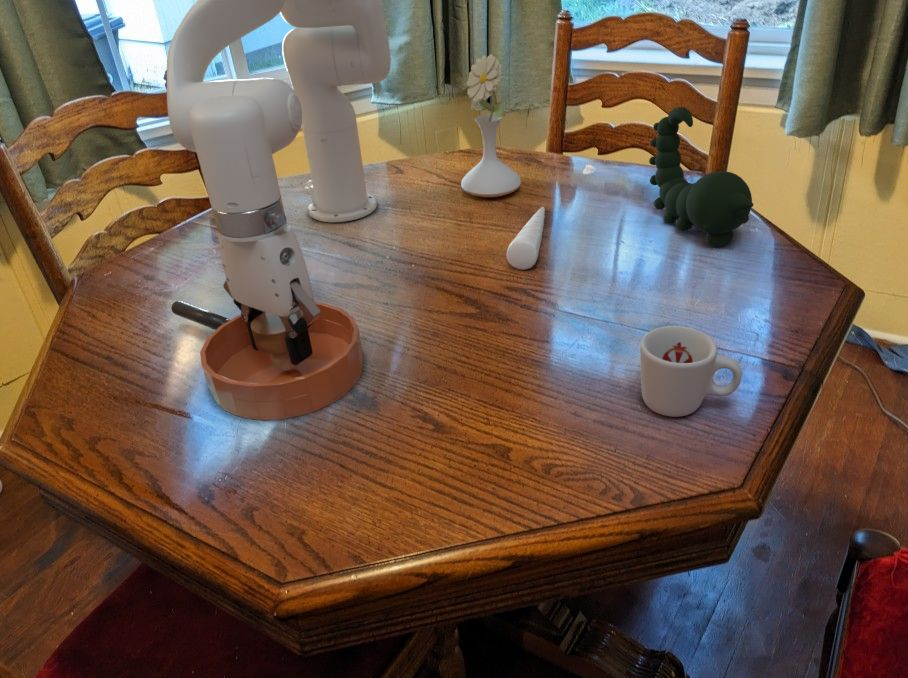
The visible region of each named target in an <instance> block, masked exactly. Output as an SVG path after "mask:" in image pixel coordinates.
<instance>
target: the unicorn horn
mask: <svg viewBox="0 0 908 678" xmlns="http://www.w3.org/2000/svg"><path fill="white" fill-rule="evenodd" d="M545 215H546V209H545V206H541V207H540V208H539V209H538V210H536V212H535V213H534V214H533V215H532V216H531V218H530V219H528V221H527V222H526V223H525V225H524V226H523V227H522V228H521V230H520V231H519V232H518V233H517V235H516V236H515V237H514V238H513V239H512V241H511V242H510V243H509V245H508V247H507V250H506V260H507V261H508V264H509V265H510V266H511V267H513V268H514V269H517V270H523V271H526V270H529V269H532V268H533V267H534V266H535V265H536V263H537V260H538V258H539V255H540V254H539V253H540V247H541V244H542V243H541V242H542V238H543V233H544V226H545V219H546V218H545V217H546V216H545Z"/></svg>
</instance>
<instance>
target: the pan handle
mask: <svg viewBox="0 0 908 678" xmlns="http://www.w3.org/2000/svg"><path fill="white" fill-rule="evenodd" d="M170 308H171V309H170V310H171V313H173V314H174V315H176V316H178V317H180V318H183V319H186V320H187V321H188V320H189V321H191V322H194V323H196V324H199V325H202V326H204V327H207V328H209V329H212V330H214V331H215V330H216V329H217V328H218V327H220V326H221V325H223V324H224V323H226V322H228V321H230V320H231V319H232V318H228V317H226V316H223V315H220V314H217V313H214V312H211V311H209V310H207V309H204V308H201V307H198V306H195V305H193V304H190V303H187V302H184V301H182V300H176V301H174V302H173V303H172V304H171V307H170Z"/></svg>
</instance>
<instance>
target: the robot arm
mask: <svg viewBox="0 0 908 678" xmlns="http://www.w3.org/2000/svg"><path fill="white" fill-rule="evenodd" d="M384 13H385V12H384V7H383V1H382V0H196V1H195V2H194V3H193V5H191V7H190V8H189V10H188V11H187V13H186V14H185V15H184V17H183V18H182V20H181V22H180V23H179V25H178V27H177V29H176V31H175V32H174V35H173V36H172V39H171V41H170V44H169V47H168V51H167V56H166V57H167V58H166V107H167V117H168V121H169V126H170V129H171V132H172V134H173V136H174V138H175V140H176V141H177V143H178V144H179V145H180V146H181V147H183V148H184V149H185V150H187V151H189V152H193V153H196V155H197V160H198V163H199V166H200V171H201V174H202V177H203V181H204V185H205V189H206V193H207V196H208V199H209V204H210V206H211V211H212V214H213V218H214V222H215V225H216V230H217V238H218V246H219V252H220V253H219V254H220V258H221V263H222V264H221V265H222V269H223V272H224V276H225V277H224V278H225V281H224V283H223V284H222V286H223V289H224V290H225V292H226V293H227V294H228V295H229V297H231V299H233V300H232V301H233V303H234V305H235V306H236V307H237V308H238V310H239V311H240V315H241V317H242V319H243V320H244V321H245V322H247V321H248V323H246V325H247V328H248V332H249V336H250V339H251V343H252V347H253V349H254V350H257V351H258V349H257V348H256V345H255V341H254V337H253V334H252V330H251V323H252V321H253V320H254V319H255V318H256V317H257V316H259V315H260V314H262V313H263V312H264V313H265V312H267V313H270V314H273V315H276V316H279V318H280V320H281V322H282V324H283V325H284V327H285V329H286V331H287V333H288V336H287V337H285V340H286V344H287V348H288V352H289V357H290V361H291V364H293V365H298V364H299V363H301V362H302V361H303V360H305V359H306V358H308V357H309V356H311V355H312V352H313V351H312V346H311V342H310V337H309V332H308V329H309V328H310V327H311V325H312V324H313V323H314V321H315V320H316V319H317V318H318V317H319V316H320V314H321V312H320V310H319V308H318V307H317V306H316V305H315V303H314V302H315V301H314V292H313V287H312V283H311V279H310V275H309V271H308V268H307V264H306V261H305V258H304V255H303V252H302V249H301V246H300V243H299V241H298V238H297V236H296V234H295V232H294V229H293V228H292V226H291V225H288V222H287V215H286V213H285V207H284V203H283V199H282V195H281V189H280V184H279V180H278V175H277V171H276V170H277V169H276V165H275V161H274V157H273V155H274V154H276V153H277V152H279V151H281V150H283V149H285V148H287V147H289V145H291V144H292V143H293V142H294V141H295V139H296V138H297V136H298V134H299V132H300V130H301V129H302V135H303V140H304V145H305V150H306V151H305V152H306V156H307V157H306V158H307V162H308V166H309V167H308V168H309V173H310V178H311V179H309V180H307V181H306V183H305V186H303V188H302V191H301V192H302V194H304V195H307V196H310V197H311V201H312V202H311V203H310V204H309V205H308V213H309V216H310V217H311V218H313V219H314V220H315V221H319V222H323V223H345V222H351V221H355V220H358V219H362V218H364V217H367V216H369V215H370V214H371V213H373V212H374V211H375V210H376V209H377V205H378V204H377V199H376V197H375V196H374V195H373V194H370V193H368V191H367V186H366V179H365V178H366V177H365V172H364V165H363V157H362V150H361V142H360V137H359V131H358V130H359V129H358V123H357V122H358V121H357V115H356V111H355V108H354V106H353V104H352V103H351V101H350V100H349V98H348V97H347V96H346V95H345V94H344V93H343V92H342V90H340V89H339V88H338V87H343V86H358V85H369V84H376V83H380V82H382V81H384V80H386V78H387V77H388V75H389V74H390V70H391V64H392V63H391V61H392V60H391V49H390V42H389V37H388V31H387V25H386V18H385V14H384ZM278 15H280V16H281V18H282V20H283V21H284V22H285V23H286V24H288V25H289V26H291V27H294V28H292V29H290V30H289V31H288V32H287V33H286V34H285V36H284V38H283V40H282V45H281V51H282V52H281V53H282V58H283V62H284V65H285V68H286V71H287V74H288V78H289V80H290V83H291V85H290V84H288V83H287V82H285V81H283V80H281V79H279V78H274V77H273V78H271V77H261V78H260V77H259V78H248V79H247V78H244V79H238V78H237V79H236V78H235V79H223V80H222V79H221V80H210V81H208V80H207V81H204V79H205V76H206V73H207V70H208V68H209V66H210V65H211V63H212V62H213V60H214V59H215V58H216V57H217V56H218V55H219V54H220V53H221V52H222V51H224V50H225V49H226V48H228V47H229V46H230V45H232V44H233V43H235V42H237V41H239V40H240V39H242V38H244V37H245V36H247V35H249V34H250V33H253V32H254V31H255V30H257V29H259V28H260V27H263V26H264V25H266V24H267V23H269V22H271V21H272V20H273V19H274V18H275V17H277V16H278ZM291 306H292V307H291ZM294 313H295V314H296V316H297V318H298V320H297V322H296V323H295V324H294V325H293V323H292V321H291V319H290V317H289V316H291V315H292V314H294Z"/></svg>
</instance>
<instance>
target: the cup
mask: <svg viewBox="0 0 908 678" xmlns="http://www.w3.org/2000/svg"><path fill="white" fill-rule="evenodd" d="M639 347H640V348H639V350H640V391H641V397H642V400H643V402H644V404H645V405H646V406H647V408H649V409H650V410H651V411H653V412H654V413H657V414H658V415H662V416H665V417H674V418H677V417H678V418H679V417H684V416H688V415H690V414H693V413H694V412H696V411H697V410H698V409H699V408H700V406H701V405H702V403H703V401H704V399H705V398H706V397H707V396H716V397H717V396H718V397H726V396H729V395H732V394H733V393H735V391H736V390H737V389H738V388H739V386H740V384H741V380H742V367H741V365H740V364H739V362H738V361H737V360H736V359H734V358H732V357H729V356H725V355H722V354H719V353H718V346H717V343H716V341H715V340H714V339H713V338H712V337H711V336H710V335H708V334H707V333H706V332H703V331H702V330H699V329H697V328H694V327H689V326H684V325H683V326H682V325H665V326H659V327H656V328H653V329H651V330H649V331H648V332H646V333H645V334H644V335H643V337H642V338H641V340H640V344H639ZM722 369H727V370H729V371H731V373H732V379H731V381H730V382H729V383H728V384H726V385H719V384H717V383H715V381H714V376H715V374H716V373H717V372H718V371H719V370H722Z"/></svg>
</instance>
